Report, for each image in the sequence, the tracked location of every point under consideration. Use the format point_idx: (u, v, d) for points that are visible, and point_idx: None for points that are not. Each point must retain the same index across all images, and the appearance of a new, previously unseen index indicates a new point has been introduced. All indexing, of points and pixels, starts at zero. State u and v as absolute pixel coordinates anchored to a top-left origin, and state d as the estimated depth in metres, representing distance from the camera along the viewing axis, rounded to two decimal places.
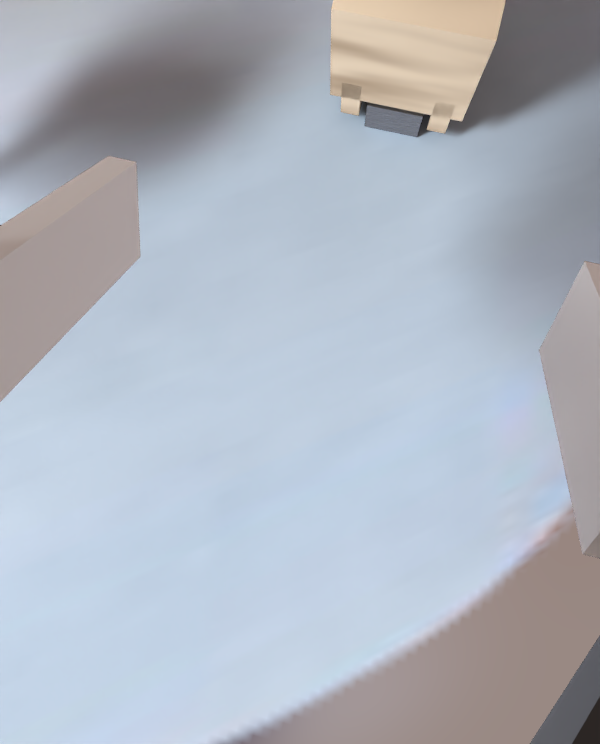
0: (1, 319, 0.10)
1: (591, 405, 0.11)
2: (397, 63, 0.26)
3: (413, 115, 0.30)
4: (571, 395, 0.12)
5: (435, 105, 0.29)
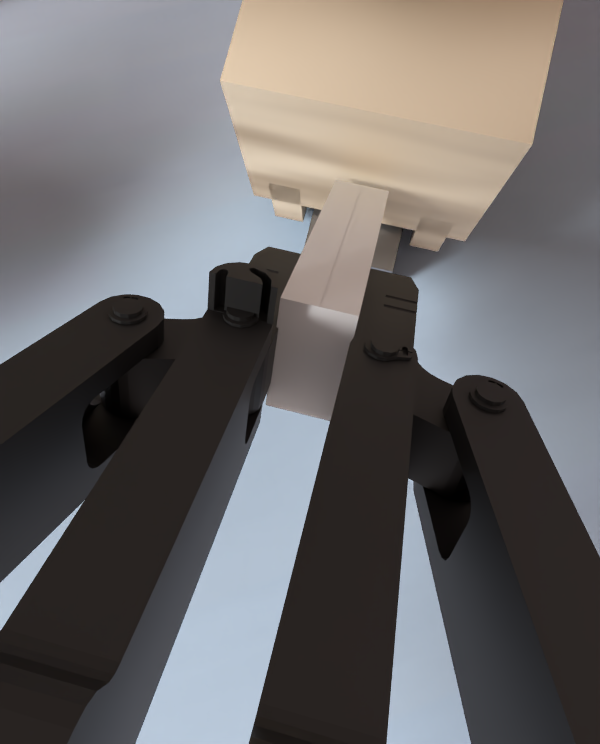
0: None
1: None
2: (352, 164, 0.15)
3: (378, 268, 0.18)
4: None
5: (421, 220, 0.17)
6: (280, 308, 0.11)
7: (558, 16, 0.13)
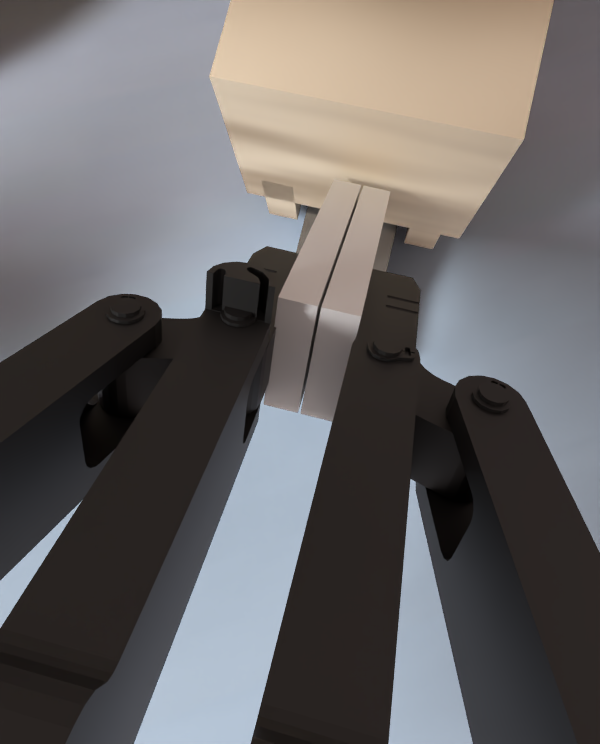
0: (314, 337, 0.11)
1: None
2: (344, 160, 0.15)
3: None
4: None
5: (415, 217, 0.17)
6: (278, 307, 0.11)
7: (550, 10, 0.13)
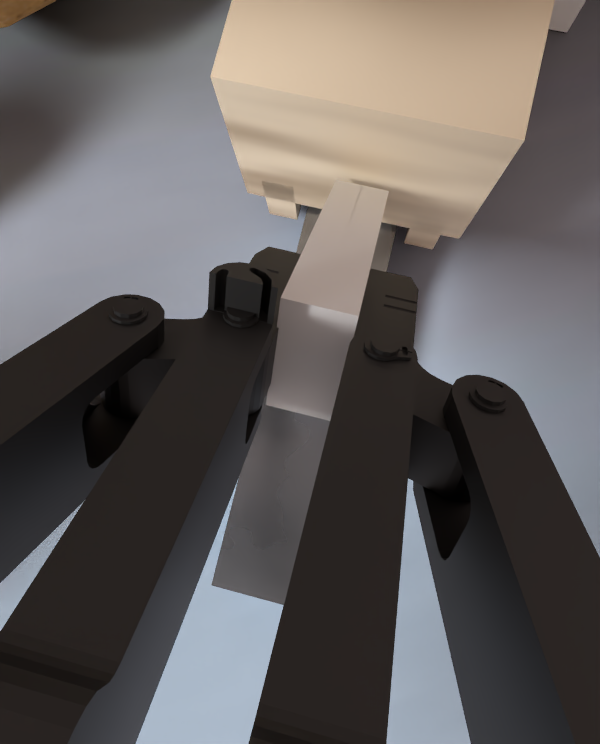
0: None
1: None
2: (345, 161, 0.15)
3: None
4: None
5: (415, 217, 0.17)
6: (280, 307, 0.11)
7: (550, 11, 0.13)
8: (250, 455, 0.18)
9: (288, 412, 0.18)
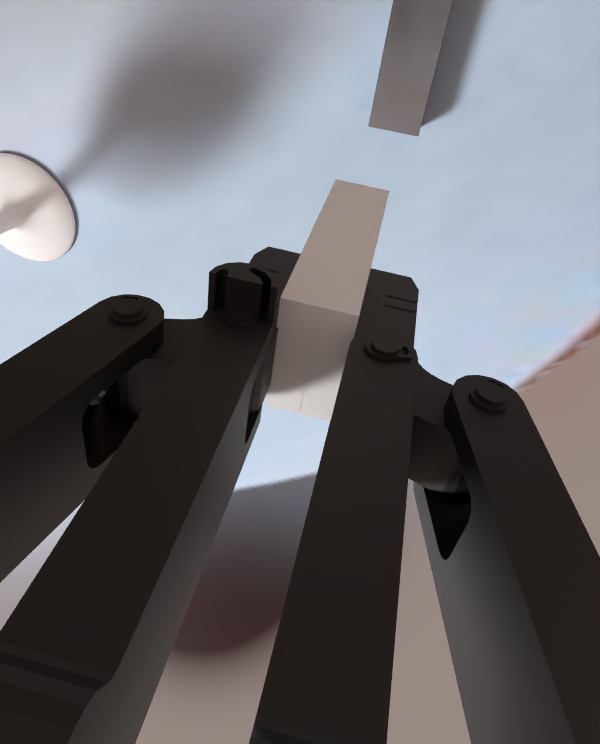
0: None
1: None
2: None
3: (410, 134, 0.33)
4: None
5: None
6: (280, 307, 0.11)
7: None
8: (387, 48, 0.31)
9: (409, 17, 0.30)
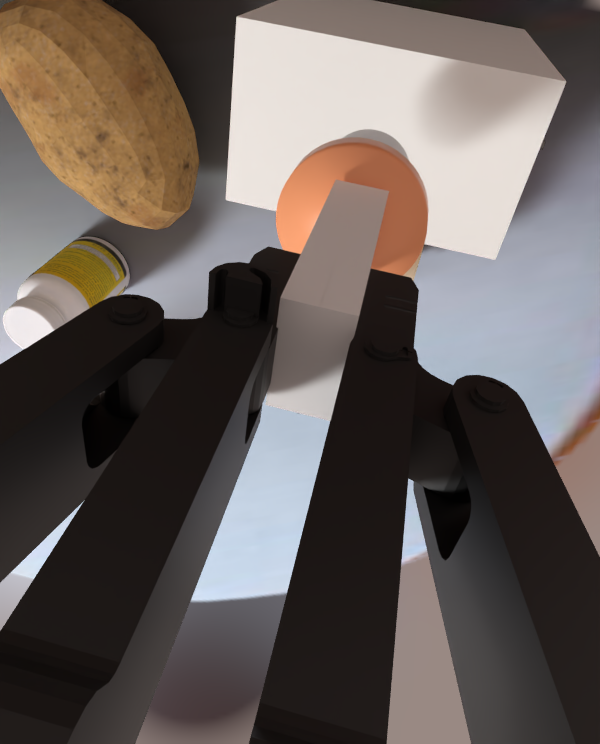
0: None
1: None
2: None
3: None
4: None
5: None
6: (280, 307, 0.11)
7: (413, 279, 0.32)
8: None
9: None
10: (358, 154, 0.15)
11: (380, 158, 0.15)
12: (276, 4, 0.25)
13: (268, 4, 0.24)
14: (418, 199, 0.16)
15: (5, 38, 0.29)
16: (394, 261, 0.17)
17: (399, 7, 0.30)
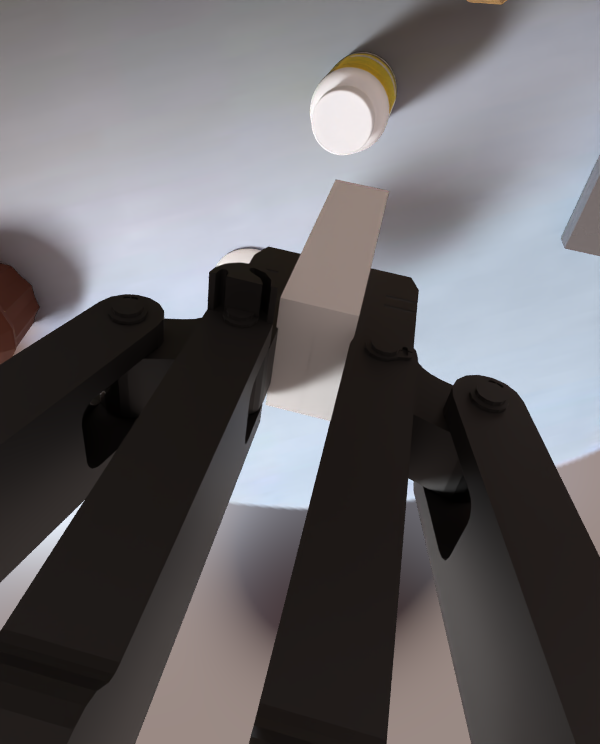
0: None
1: None
2: None
3: (595, 254, 0.45)
4: None
5: None
6: (280, 308, 0.11)
7: None
8: (590, 199, 0.43)
9: None
10: None
11: None
12: None
13: None
14: None
15: None
16: None
17: None
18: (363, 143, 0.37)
